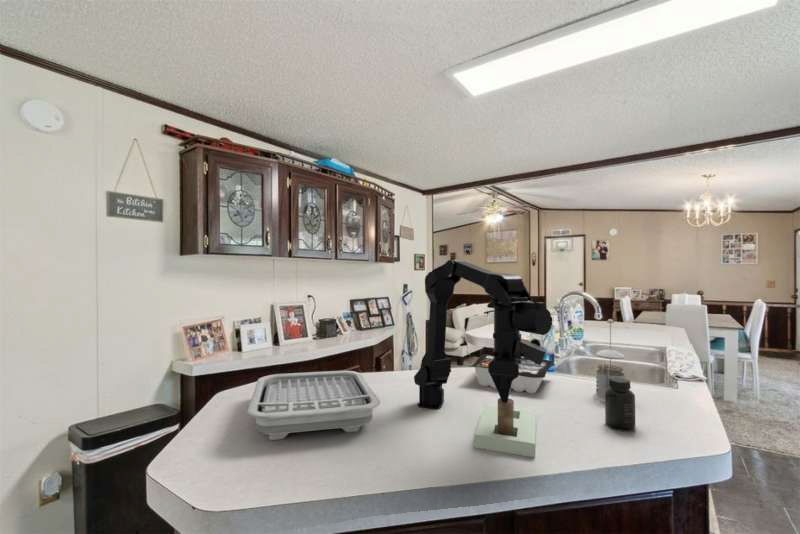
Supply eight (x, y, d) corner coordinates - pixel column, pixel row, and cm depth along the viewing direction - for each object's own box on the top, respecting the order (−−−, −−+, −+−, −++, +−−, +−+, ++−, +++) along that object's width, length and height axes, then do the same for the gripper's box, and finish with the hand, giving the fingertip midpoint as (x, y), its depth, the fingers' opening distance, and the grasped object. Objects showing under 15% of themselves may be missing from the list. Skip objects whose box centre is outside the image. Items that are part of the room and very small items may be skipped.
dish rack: (358, 390, 126) (359, 366, 127) (384, 438, 91) (385, 404, 91) (258, 398, 118) (258, 373, 118) (243, 455, 83) (244, 418, 83)
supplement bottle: (631, 422, 101) (631, 377, 101) (638, 433, 94) (638, 385, 94) (602, 419, 103) (602, 375, 103) (607, 429, 96) (607, 382, 96)
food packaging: (468, 365, 131) (485, 352, 151) (467, 386, 131) (485, 371, 151) (544, 375, 120) (552, 359, 140) (544, 398, 120) (552, 380, 140)
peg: (496, 445, 87) (496, 402, 87) (497, 438, 91) (498, 396, 91) (513, 448, 86) (513, 404, 86) (514, 441, 89) (514, 398, 89)
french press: (630, 398, 120) (631, 319, 120) (623, 408, 111) (624, 322, 111) (596, 391, 126) (597, 316, 127) (587, 400, 118) (587, 319, 118)
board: (535, 457, 82) (535, 443, 82) (474, 447, 86) (474, 434, 86) (535, 422, 100) (535, 411, 100) (485, 415, 105) (486, 404, 105)
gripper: (544, 337, 77) (544, 415, 76) (543, 325, 94) (543, 388, 94) (488, 334, 80) (487, 408, 80) (497, 322, 98) (496, 383, 98)
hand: (506, 396), depth 88 cm, fingers open, 9 cm apart
